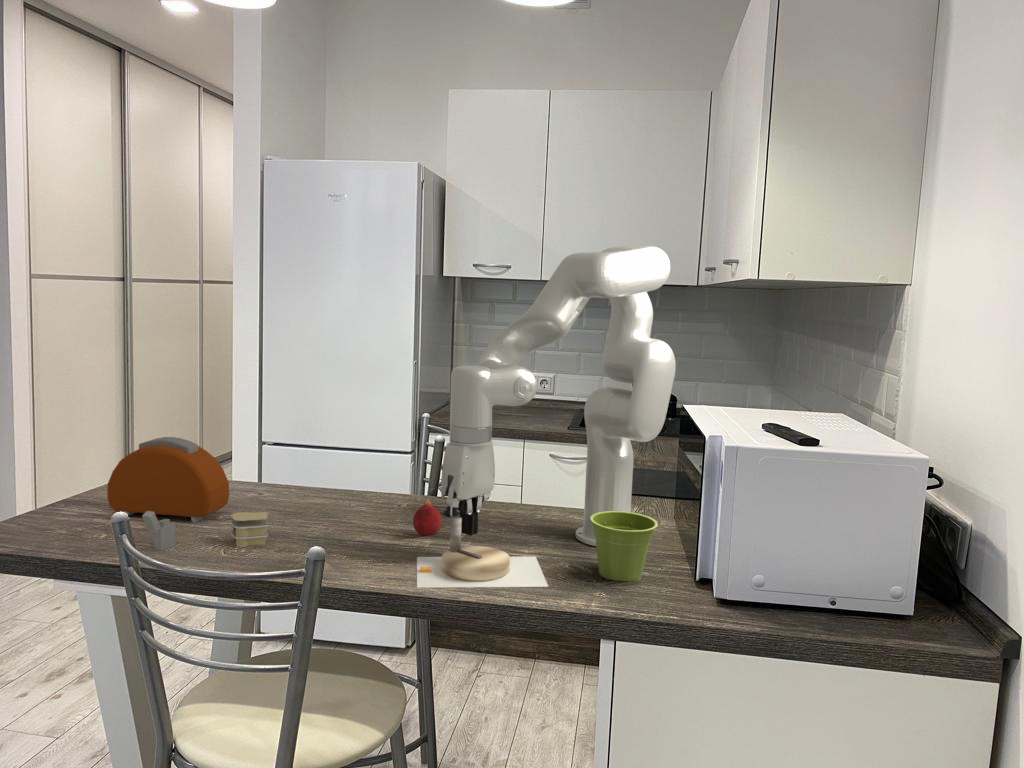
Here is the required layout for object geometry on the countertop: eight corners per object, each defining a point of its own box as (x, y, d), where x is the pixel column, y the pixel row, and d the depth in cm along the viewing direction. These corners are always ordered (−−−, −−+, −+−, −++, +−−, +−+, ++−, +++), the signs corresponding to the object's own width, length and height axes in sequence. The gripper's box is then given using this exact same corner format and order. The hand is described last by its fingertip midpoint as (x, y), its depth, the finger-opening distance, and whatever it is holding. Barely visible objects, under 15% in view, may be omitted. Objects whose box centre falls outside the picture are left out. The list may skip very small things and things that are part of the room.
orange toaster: (230, 513, 175) (230, 438, 173) (209, 525, 166) (208, 445, 164) (132, 505, 178) (130, 431, 176) (106, 516, 169) (104, 438, 167)
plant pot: (608, 597, 135) (611, 532, 133) (575, 573, 145) (578, 513, 144) (667, 589, 139) (671, 526, 138) (631, 567, 150) (634, 508, 149)
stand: (535, 564, 150) (535, 553, 149) (548, 595, 135) (548, 583, 134) (416, 564, 147) (417, 553, 147) (416, 596, 132) (416, 584, 132)
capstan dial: (523, 567, 142) (525, 524, 141) (478, 585, 133) (480, 539, 132) (472, 552, 150) (474, 510, 149) (427, 568, 140) (428, 523, 139)
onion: (436, 544, 159) (437, 505, 158) (408, 542, 160) (409, 503, 159) (444, 536, 164) (445, 498, 163) (417, 533, 165) (418, 495, 164)
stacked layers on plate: (276, 535, 162) (276, 509, 161) (275, 549, 153) (275, 521, 153) (224, 537, 159) (223, 510, 159) (219, 552, 151) (219, 523, 150)
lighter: (168, 543, 154) (167, 502, 153) (176, 544, 153) (175, 503, 152) (142, 554, 147) (141, 512, 146) (150, 555, 146) (149, 513, 146)
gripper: (482, 426, 152) (480, 520, 154) (426, 437, 141) (424, 538, 143) (513, 432, 147) (510, 528, 150) (457, 443, 136) (455, 547, 138)
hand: (468, 533), depth 146 cm, fingers closed
